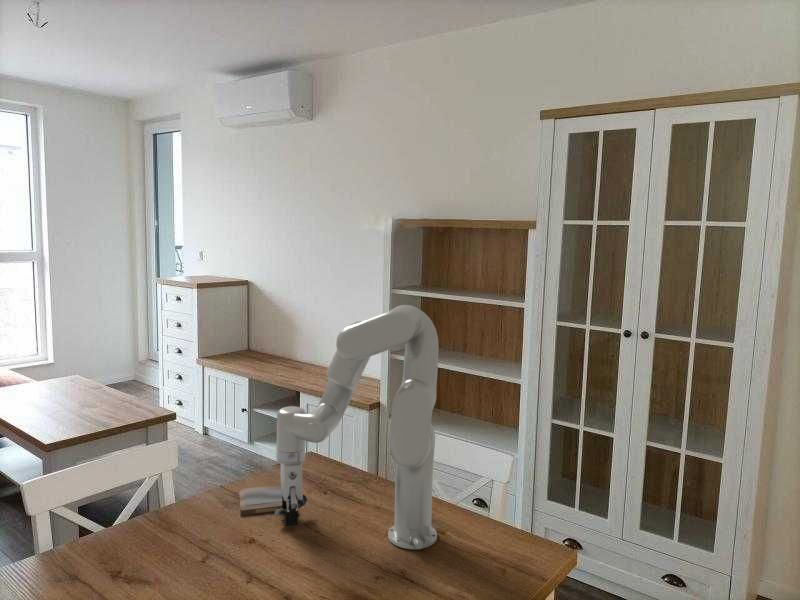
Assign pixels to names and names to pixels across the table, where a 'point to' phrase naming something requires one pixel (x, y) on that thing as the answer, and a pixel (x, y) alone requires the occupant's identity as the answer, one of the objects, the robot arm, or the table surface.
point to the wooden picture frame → (260, 499)
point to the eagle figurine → (282, 511)
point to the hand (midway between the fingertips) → (289, 516)
